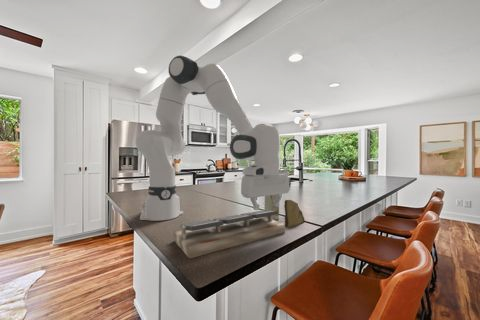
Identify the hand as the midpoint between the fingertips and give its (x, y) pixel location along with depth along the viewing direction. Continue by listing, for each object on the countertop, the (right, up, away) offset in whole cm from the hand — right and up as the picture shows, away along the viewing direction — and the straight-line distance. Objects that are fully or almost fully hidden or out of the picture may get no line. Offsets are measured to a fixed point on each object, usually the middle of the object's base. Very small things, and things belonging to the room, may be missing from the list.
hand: (266, 207), depth 73 cm
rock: (+14, -10, +12) cm, 20 cm away
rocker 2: (-2, -3, +4) cm, 5 cm away
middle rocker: (-12, -3, -3) cm, 13 cm away
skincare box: (+5, -9, +18) cm, 21 cm away
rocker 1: (-22, -3, -9) cm, 24 cm away
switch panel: (-12, -9, -3) cm, 15 cm away
